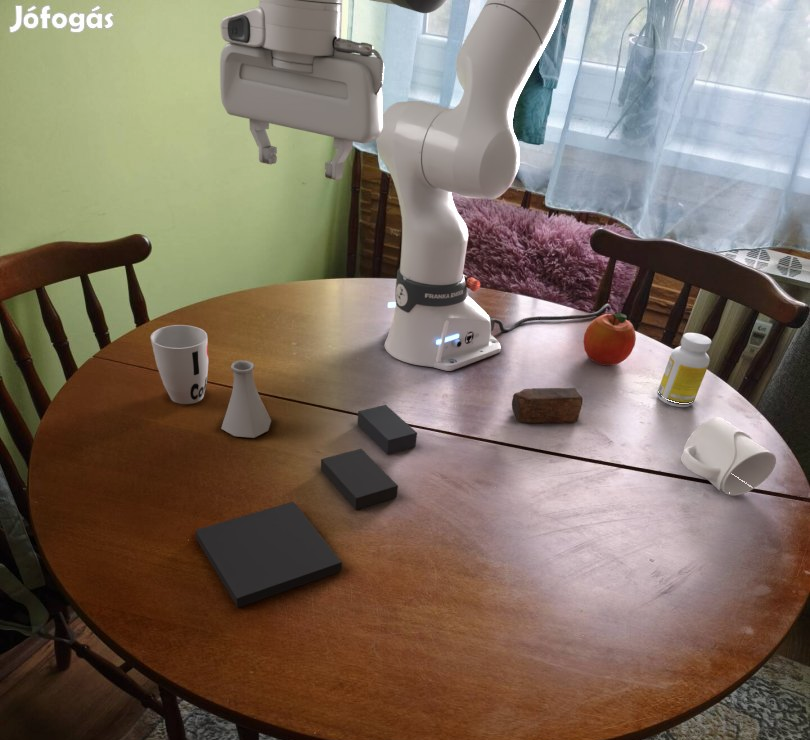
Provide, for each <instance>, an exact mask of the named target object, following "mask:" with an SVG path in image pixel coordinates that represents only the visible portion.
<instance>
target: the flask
mask: <svg viewBox="0 0 810 740" xmlns="http://www.w3.org/2000/svg"><path fill="white" fill-rule="evenodd" d="M254 369H255V363H253V362H252V361H249V360H242V359H238V360H237V361H234V362H232V363H231V366H230V370H231V371H232V373H233V382H232V383H233V384H232V392H231V395H230V398H229V402H228V406H227V408H226V412H225V415H224V417H223V422H222V425H221V428H220V429H221V430H223V431H225V432H226V433H228V434H230V435H231V436H233V437H240V438H249V439H250V438H252V439H255V438H257V437H260V436H261V435H263V434H264V433H266V432H269V429H270V427H271V423H272V419H271V417H270V415H269V412H268V411H267V409H266V407H265V405H264V403H263V400H262V398H261V396H260V394H259V392H258V390H257V387H256V383H255V380H254V379H255V378H254Z"/></svg>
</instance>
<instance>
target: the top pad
mask: <svg viewBox="0 0 810 740" xmlns="http://www.w3.org/2000/svg"><path fill="white" fill-rule="evenodd" d="M356 425H357V426H358V428H360V429H361V431H363V432H364V433H365V434H366V435H367V436H368V437H369V438H370V439H371V440H372V441H373V443H375V444H376V445H377V446H378V447H379V448H380V449H381V450H382V451H383V452H384V453H385V454H386V455H392V454H394V453H398V452H402V451H405V450H409V449H414V448H416V445H417V437H418V432H417V430H415V429H414V428H413V427H411V426H410V425H409V424H408V423H407V422H406V421H405V420H404V419H402V417H400V416H399V415H398V414H397V413H396V412H395V411H393V409H392V408H390V407H389V406H388V405H387V404H383V405H382V404H381V405H379V406H374V407H370V408H366V409H361V410H358V411H357V424H356Z"/></svg>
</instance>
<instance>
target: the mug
mask: <svg viewBox="0 0 810 740" xmlns="http://www.w3.org/2000/svg"><path fill="white" fill-rule="evenodd" d="M680 459H681V460H680V461H681V462H682V464H683V466H684V467H685V468H686V469H688V470H689V471H690V472H692V473H693V474H695V475H697V476H699V477H702V478H704V479H706V480H707V481H708V482H709V483H711V485H712V486H714V487H715V488H716V489H717V490H719V491H723V492H724V494H726V495H728V496H732V497H733V496H734V497H735V496H741V495H744V494H746V493H748V492H751V491H752V490H755V488H754V487H756V488H757V487H759V486H760V485H761V484H762V483H764V482H765V481H767V479H768V478H769V476H770V475H771V474H772V473H773V471H774V469H775V467H776V464H777V458H776V455H775V454H774V453H772V452H771V451H770V450H768V449H767V448H765V447H764V446H762V445H760V444H758V443H757V442H755V440H753V438H752V437H751V436H750V435H749V434H747V433H746V432H744V431H743V430H742V429H740V428H738V427H737V426H735V425H734V424H732V423H731V422H729V421H727V420H726V419H724V418H722V417H714V418H710V419H708V420H706V421H704V422H703V423H701V424H700V425H699V426H698V427H697V428H695V430H694V431H693V432H692V433H691V434H690V436H689V437H688V439H686V442H685V445H684V447H683V453H682V455H681V457H680ZM731 473H732V474H734V475H735V476H737V477H739V479H741V480H743V481H745V483H746V482H747V484H749V485H751V486H752V487H753V488H751V487H749V486H748V485H747V484H745V483H744V482H742V481H741V480H739V479H738V478H737V477H735V476H734V475H732V474H731ZM729 492H730V494H729Z"/></svg>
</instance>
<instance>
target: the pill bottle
mask: <svg viewBox="0 0 810 740" xmlns="http://www.w3.org/2000/svg"><path fill="white" fill-rule="evenodd" d="M682 335H683V336H682V338H681V340H680V346H677V347H675V348H673V350H672V351H671V353H670V356H669V358H668V361H667V364H666V367H665V369H664V372H663V375H662V378H661V381H660V384H659V387H658V390H657V398H658V399H659V400H660V401H661V402H663V403H665V405H666V404H667V405H669V406H672V407H677V408H686V407H689V406H692V405H693V404H694V402H695V400H696V397H697V395H698V392H699V390H700V387H701V384H702V383H703V380H704V378H705V375H706V373H707V370H708V367H709V365H710V362H711V359H710V356H709V354H708V353H707V352H708V351H709V350H710V348H711V345H712V339H711V338H709V337H708V336H707V335H704V334H701V333H697V332H686V333H684V334H682ZM658 391H659V393H660V394H659V393H658ZM661 395H662V396H663V397H664V398H663V397H662V396H661ZM665 398H666V399H669V400H672V401H675V402H679V403H689V402H692V401H693V402H692V403H689V404H679V403H674V402H671V401H668V400H666V399H665Z"/></svg>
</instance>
